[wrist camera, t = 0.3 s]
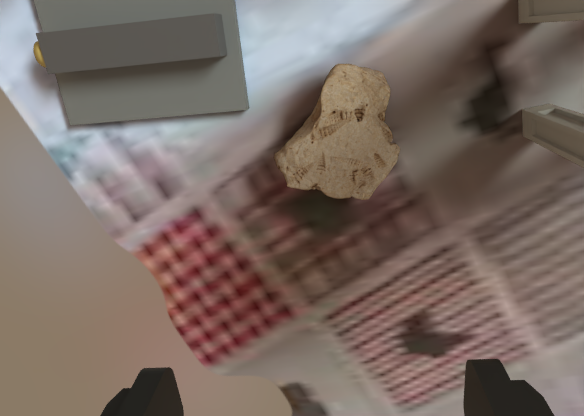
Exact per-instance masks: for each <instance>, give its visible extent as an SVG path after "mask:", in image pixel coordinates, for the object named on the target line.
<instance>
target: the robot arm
mask: <svg viewBox="0 0 584 416" xmlns="http://www.w3.org/2000/svg"><path fill="white" fill-rule="evenodd" d="M464 414H465V416H554V414H553V413H552V411H551V409H550V408H549V406H548V404H547V402H546V401H545V399H544V397H543V396H542V395H541V394H540V393H539V392H537V391H536V390H535V389H534V388H533V387H532V386H531V385H529V384H528V383H527V382H526V381H525V380H510V378H509V376H508V374H507V372H506V370H505V369H504V367H503V365H502V363H501V362H500V360H498V359H478V360H467V362H466V372H465V388H464ZM101 416H184V413H183V405H182V402H181V398H180V394H179V391H178V387H177V383H176V380H175V376H174V373H173V370H172V369H171V368H169V367H168V368H144V369H142V370H141V371H140V373H139V374H138V376H137V378H136V380H135V382H134V384H133V386H132V387H131V388H126V389H125V388H124V389H122V390H121V391H120V392H119V393H118V394H117V395H116V396H115V397H114V398H113V399H112V400H111V401H110V402H109V403H108V404H107V405H106V407H105V409H104V410H103V412H102V414H101Z"/></svg>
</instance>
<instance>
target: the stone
mask: <svg viewBox="0 0 584 416" xmlns="http://www.w3.org/2000/svg"><path fill="white" fill-rule="evenodd" d="M389 97H390V87H389V86H388V84H387V81H386V79H385V77H384V75H383V73H381V72H380V71H376V70H371V69H369V68H365V67H358V66H356V65H352V64H337V65H335V66H334V67H333V68H332V69H331V70H330V72H329V74H328V76H327V78H326V80H325V83H324V85H323V87H322V91H321V94H320V97H319V99H318V101H317V105H316V107H315V108H314V110H313V112H312V114H311V115H310V116H309V117H308V119H307V120H306V121H305V122H304V124H303V126H302V127H301V128H300V129H299V130H298V131H297V132H296V133H295V134H294V135H293V137H292V138H291V139H290V140H289V141H288V142H287V143H286V144H285V145H284V146H283V148H282V149H281V150H280V151H278V152H277V153H275V155H274V159H275V161H276V165H277V167H278V169H279V170H280V171H281V172H282V173H283V174H284V177H285V180H286V182H287V187H291V188H295V189H302V190H309V189H314V190H315V189H317V190H321V191H322V192H323V193H324V194H325V195H327V196H329V197H332V198H338V199H342V198H349V197H351V196H352V197H354V198H357V199H361V200H366V199H369V198H370V197H371V196H372V194H373V193H374V191H375V190H376V188H377V187H378V185H379V184H380V183H381V182H382V181H383V180H384V179H385V178H386V177H387V175H388V174H389V172H390V171H391V169H392V168H393V166H394V165H395V164H396V163H397V160H398V155H399V152H400V148H399V146H398V145H397V144H396V143H392V139H393V136H392V132H391V131H390V128H389V127H388V126H387V125H386V124H385V123H384V121H385V111H386V109H387V105H388V102H389Z"/></svg>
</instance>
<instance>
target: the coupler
mask: <svg viewBox="0 0 584 416" xmlns="http://www.w3.org/2000/svg"><path fill="white" fill-rule="evenodd" d="M34 3H35V7H36V10H37V13H38V17H39V20H40V24H41V27H42V30H43V33H36V36H37V39H38V41H37V42H36V43H35V44H34V55H35V58H36V60H37V61H38V63H39V64H40V65H41V66H43V67H46V69H47V72H48V74H54V73H55V75H56V78H57V82H58V85H59V89H60V92H61V95H62V99H63V102H64V106H65V109H66V112H67V116H68V119H69V123H70V125H81V124H93V123H104V122H115V121H127V120H138V119H150V118H161V117H172V116H184V115H195V114H206V113H218V112H229V111H240V110H248V109H249V103H248V96H247V88H246V81H245V73H244V66H243V58H242V51H241V43H240V36H239V28H238V21H237V13H236V6H235V0H34Z"/></svg>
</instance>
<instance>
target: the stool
mask: <svg viewBox="0 0 584 416" xmlns="http://www.w3.org/2000/svg"><path fill="white" fill-rule="evenodd" d="M518 12H519V23H539V22H558V21H577V20H584V0H518ZM522 125H523V136H524V137H526V138H527V139H529V140H531V141H533V142H535V143H537V144H539V145H541V146H543V147H545V148H547V149H549V150H550V151H552V152H554V153H556V154H558V155H560V156H562V157H564V158H566V159H568V160H570V161H572V162H574V163H575V164H577V165H579V166H581V167H583V168H584V114H581V113H578V112H575V111H572V110H569V109H565V108H562V107H559V106H556V105H553V104H546V105H541V106H536V107H531V108H526V109H522Z"/></svg>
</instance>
